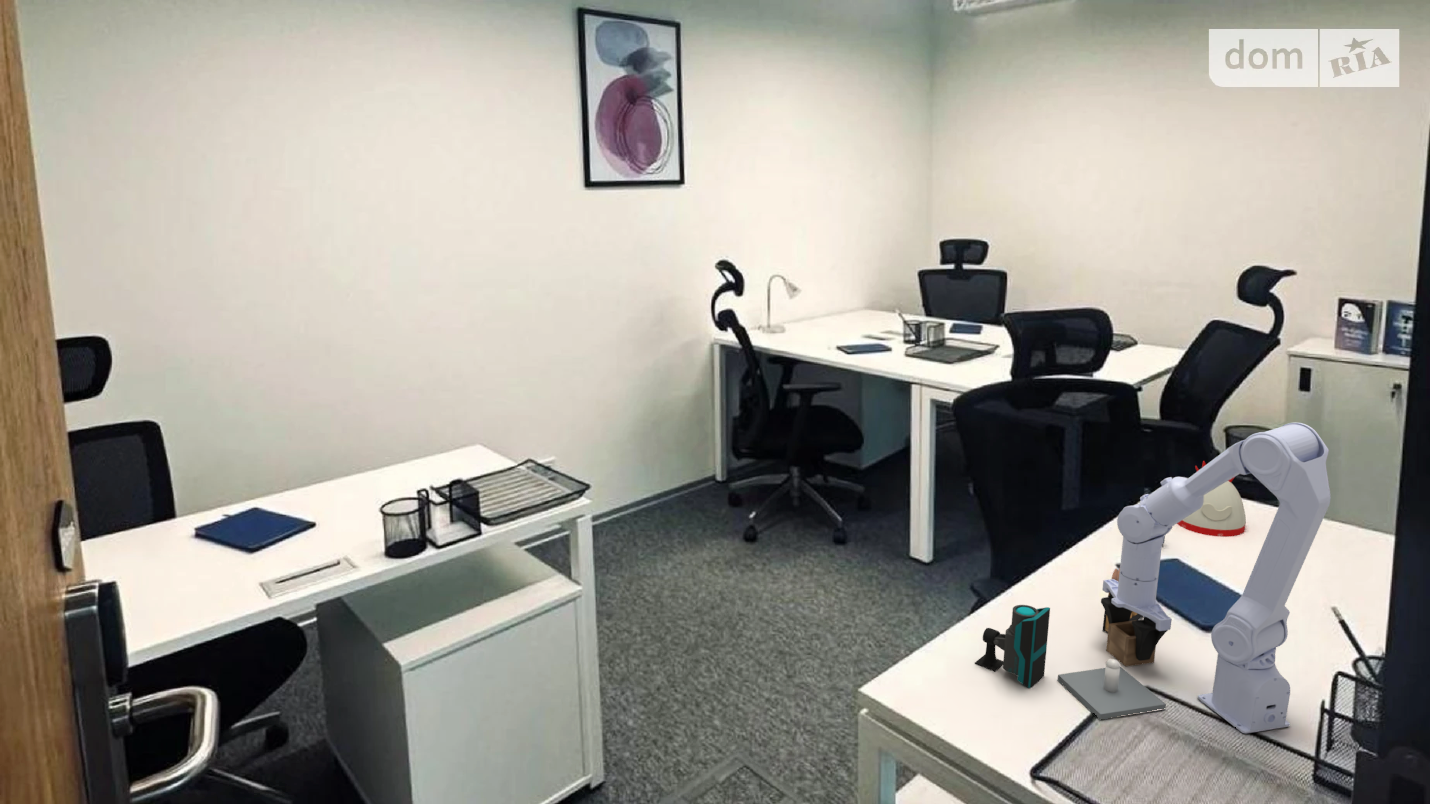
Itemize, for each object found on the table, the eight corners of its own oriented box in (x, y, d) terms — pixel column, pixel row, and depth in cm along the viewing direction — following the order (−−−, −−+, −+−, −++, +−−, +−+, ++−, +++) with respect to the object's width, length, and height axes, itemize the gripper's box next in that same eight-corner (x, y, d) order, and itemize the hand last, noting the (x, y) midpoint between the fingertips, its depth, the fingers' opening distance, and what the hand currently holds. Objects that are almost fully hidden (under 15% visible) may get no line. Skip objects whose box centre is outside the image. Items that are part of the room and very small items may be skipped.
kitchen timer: (1170, 510, 212) (1178, 449, 208) (1237, 516, 207) (1245, 454, 204) (1180, 533, 199) (1188, 468, 195) (1250, 540, 195) (1260, 474, 191)
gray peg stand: (1165, 709, 135) (1169, 674, 134) (1099, 720, 133) (1103, 684, 132) (1119, 671, 146) (1122, 637, 144) (1057, 680, 144) (1060, 646, 142)
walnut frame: (1153, 662, 148) (1157, 635, 147) (1125, 666, 147) (1128, 639, 146) (1133, 646, 153) (1136, 620, 152) (1106, 650, 152) (1108, 623, 151)
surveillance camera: (992, 587, 149) (1051, 607, 142) (988, 653, 152) (1045, 675, 145) (976, 599, 145) (1035, 620, 138) (971, 666, 148) (1029, 689, 141)
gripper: (1089, 558, 152) (1082, 630, 156) (1146, 596, 139) (1137, 675, 142) (1126, 553, 154) (1119, 625, 157) (1186, 591, 140) (1177, 669, 143)
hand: (1130, 649), depth 150 cm, fingers open, 6 cm apart
